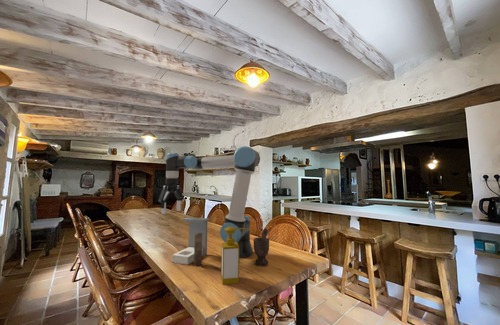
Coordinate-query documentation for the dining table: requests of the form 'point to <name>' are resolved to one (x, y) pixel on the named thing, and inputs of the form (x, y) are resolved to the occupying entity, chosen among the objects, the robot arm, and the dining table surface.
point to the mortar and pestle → (261, 248)
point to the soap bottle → (230, 259)
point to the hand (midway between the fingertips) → (171, 212)
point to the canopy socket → (192, 240)
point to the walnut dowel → (198, 249)
